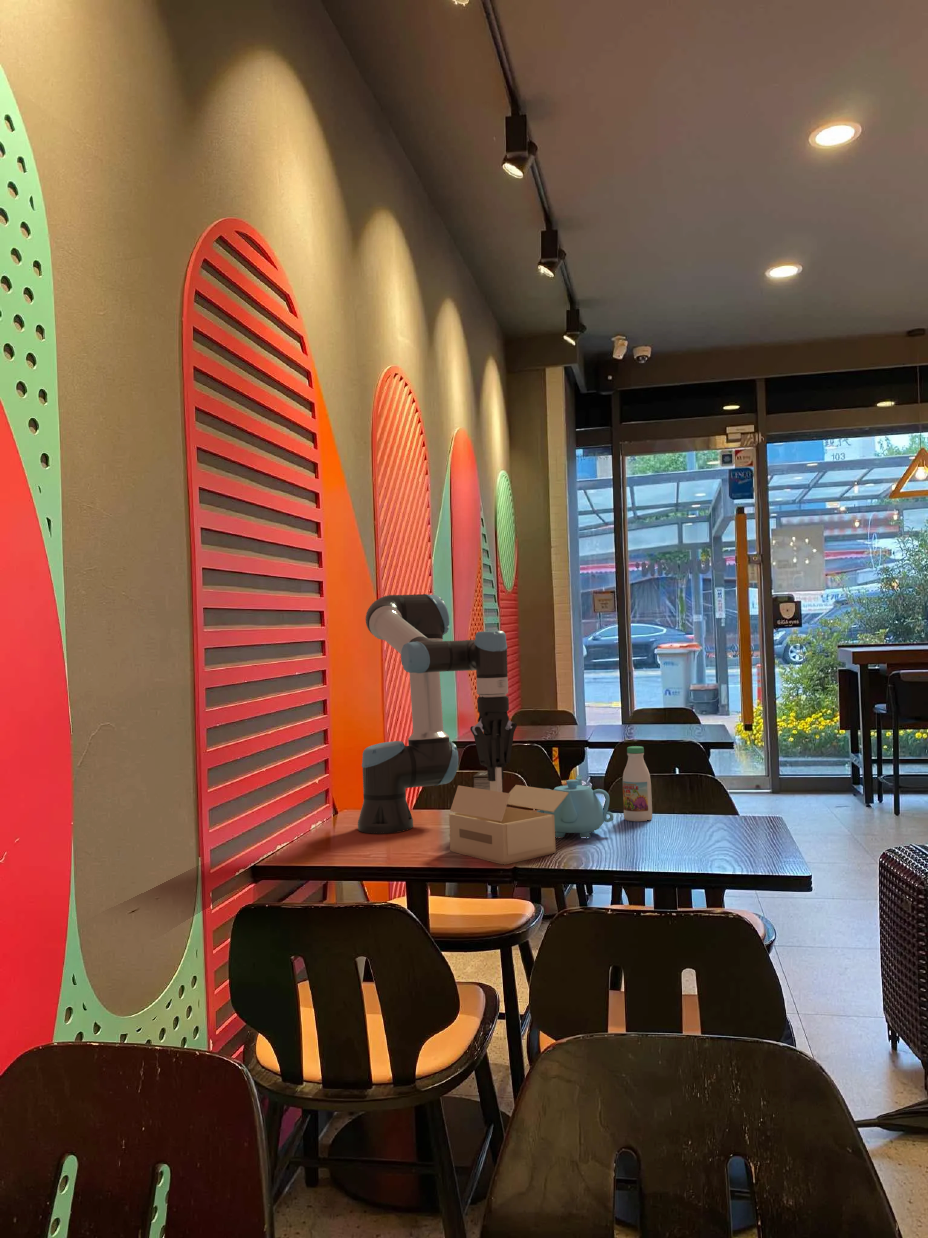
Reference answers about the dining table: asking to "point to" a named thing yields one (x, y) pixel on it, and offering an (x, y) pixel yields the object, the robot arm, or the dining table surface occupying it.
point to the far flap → (536, 798)
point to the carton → (503, 836)
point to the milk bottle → (636, 787)
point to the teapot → (579, 809)
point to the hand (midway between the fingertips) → (496, 794)
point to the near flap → (480, 802)
